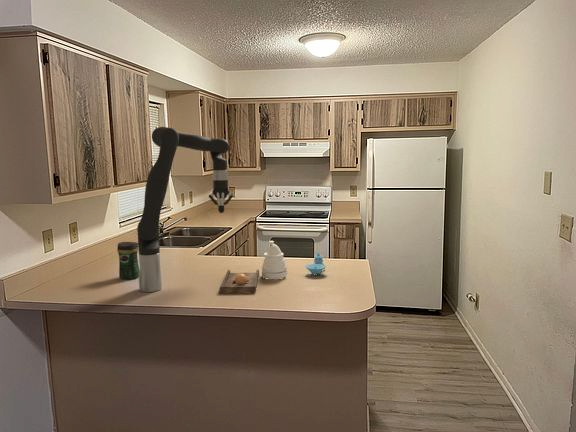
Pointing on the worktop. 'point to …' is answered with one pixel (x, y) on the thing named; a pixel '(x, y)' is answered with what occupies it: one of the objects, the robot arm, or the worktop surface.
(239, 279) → the ball
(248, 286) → the track
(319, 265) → the light blue flared piece
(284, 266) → the honey pot
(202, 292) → the worktop surface
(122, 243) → the coffee jar
